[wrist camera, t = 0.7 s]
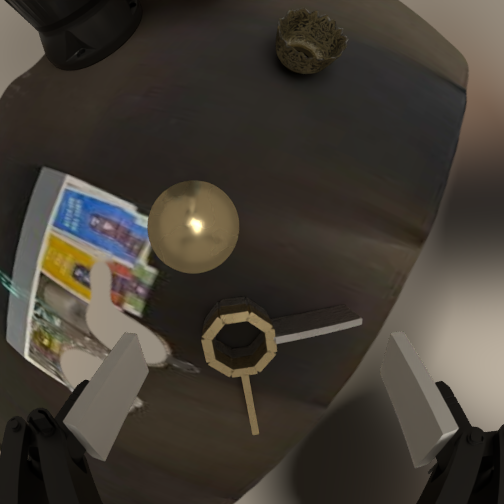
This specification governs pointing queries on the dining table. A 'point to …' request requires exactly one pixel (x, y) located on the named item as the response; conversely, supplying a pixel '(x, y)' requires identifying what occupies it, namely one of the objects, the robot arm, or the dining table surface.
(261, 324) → the ring holder
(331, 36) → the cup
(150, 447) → the dining table surface
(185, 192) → the hinge pin
